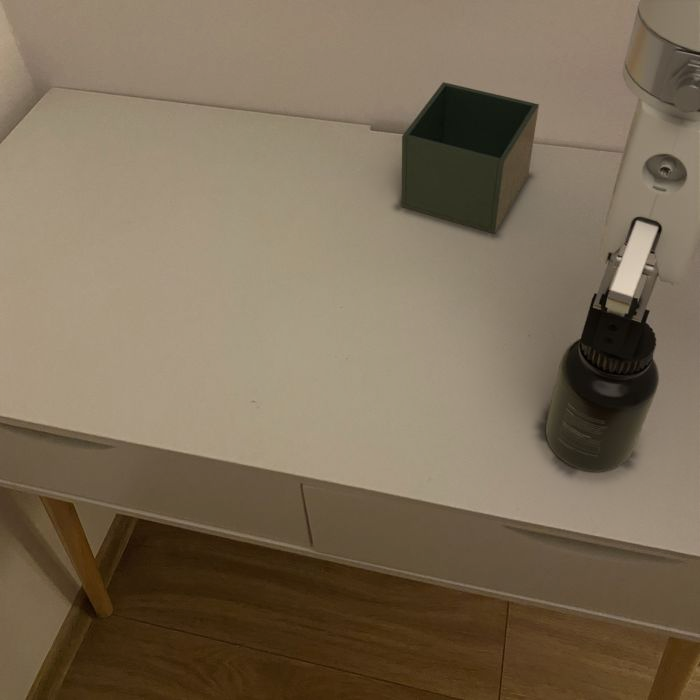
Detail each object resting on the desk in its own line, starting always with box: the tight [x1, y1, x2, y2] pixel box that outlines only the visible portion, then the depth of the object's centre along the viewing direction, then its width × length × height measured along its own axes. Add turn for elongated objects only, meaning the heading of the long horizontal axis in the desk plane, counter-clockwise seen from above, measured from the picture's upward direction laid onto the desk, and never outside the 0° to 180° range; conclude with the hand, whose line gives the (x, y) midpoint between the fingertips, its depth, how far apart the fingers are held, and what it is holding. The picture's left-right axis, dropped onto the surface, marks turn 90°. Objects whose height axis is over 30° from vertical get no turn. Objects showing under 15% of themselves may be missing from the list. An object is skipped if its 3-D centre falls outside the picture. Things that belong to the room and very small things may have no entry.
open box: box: [400, 81, 540, 235], centre depth 81 cm, size 10×10×8 cm
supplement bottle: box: [545, 322, 660, 472], centre depth 60 cm, size 7×7×12 cm
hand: (627, 296), depth 53 cm, fingers open, 9 cm apart
